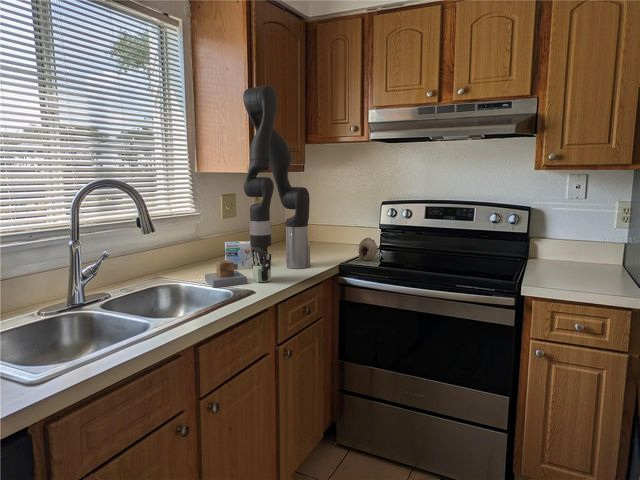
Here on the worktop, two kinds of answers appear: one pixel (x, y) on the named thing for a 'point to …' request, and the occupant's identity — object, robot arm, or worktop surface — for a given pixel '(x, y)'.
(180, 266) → the worktop surface
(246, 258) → the light bulb box
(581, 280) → the worktop surface
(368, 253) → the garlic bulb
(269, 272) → the green block
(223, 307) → the worktop surface
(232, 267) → the walnut block
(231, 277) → the slate base
